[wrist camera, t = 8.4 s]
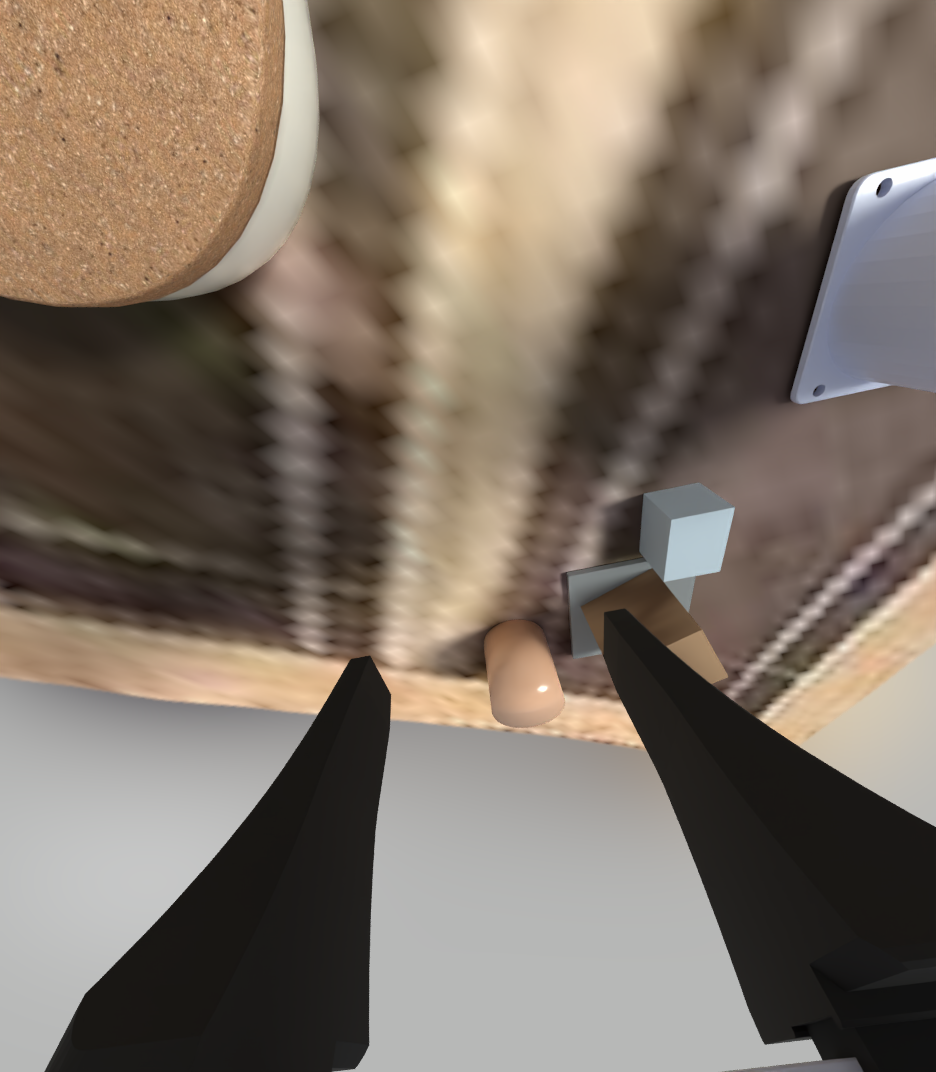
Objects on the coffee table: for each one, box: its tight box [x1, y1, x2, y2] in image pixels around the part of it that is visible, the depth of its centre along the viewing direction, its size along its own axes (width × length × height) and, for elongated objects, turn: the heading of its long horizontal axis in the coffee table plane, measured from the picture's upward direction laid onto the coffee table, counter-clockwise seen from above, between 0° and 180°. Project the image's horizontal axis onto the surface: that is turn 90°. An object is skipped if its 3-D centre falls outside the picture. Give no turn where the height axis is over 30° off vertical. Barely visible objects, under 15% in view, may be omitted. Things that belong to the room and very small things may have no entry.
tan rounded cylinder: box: [484, 620, 565, 728], centre depth 23 cm, size 4×4×5 cm
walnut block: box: [581, 568, 728, 684], centre depth 22 cm, size 5×5×5 cm
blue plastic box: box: [639, 483, 735, 582], centre depth 20 cm, size 3×4×3 cm
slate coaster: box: [567, 558, 696, 659], centre depth 24 cm, size 8×8×1 cm
